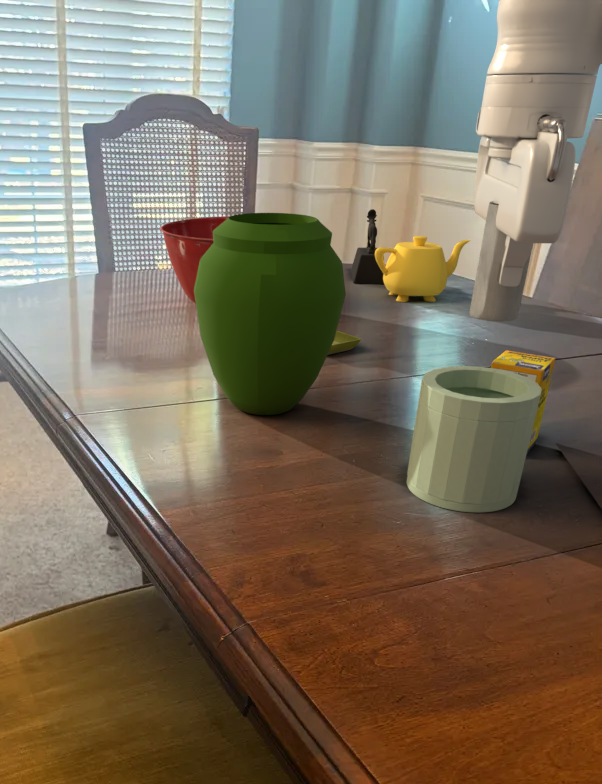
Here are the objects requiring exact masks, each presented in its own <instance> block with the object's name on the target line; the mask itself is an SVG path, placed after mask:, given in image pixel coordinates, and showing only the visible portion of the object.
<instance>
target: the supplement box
mask: <svg viewBox="0 0 602 784" xmlns="http://www.w3.org/2000/svg"><path fill="white" fill-rule="evenodd" d="M555 364H556V357H550V356H546V355H545V356H544V355H537V354H532V353H525V352H519V351H513V350H508V349H506V350H505V351H504V352H502V353H501V354H500V355H499V356H498V357H496V358H495V359H494V360H493V361H492V362H491V365H490V368H493V369H499V370H504V371H508V372H513V373H516V374H519V375H521V376H524V377H527V378H529V379H531V380H533V381H534V382H536V383H538V385H539V386H540V387H541V388H542V391H541V395H540V400H539V404H538V408H537V412H536V417H535V421H534V425H533V429H532V433H531V438H530V442H529V446H528V450H527V454H526V455H528V454H529V452H530V451H531V449H532V448H533V447H534V446H535V444H537V441H538V436H539V433H540V430H541V429H540V428H541V424H542V421H543V416H544V411H545V408H546V407H545V406H546V404H547V403H546V402H547V398H548V395H549V390H550V386H551V381H552V376H553V372H554V367H555Z"/></svg>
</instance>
